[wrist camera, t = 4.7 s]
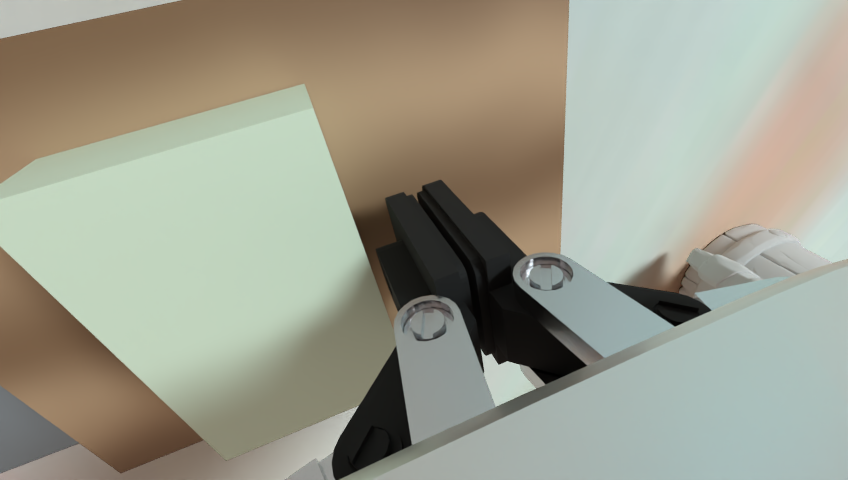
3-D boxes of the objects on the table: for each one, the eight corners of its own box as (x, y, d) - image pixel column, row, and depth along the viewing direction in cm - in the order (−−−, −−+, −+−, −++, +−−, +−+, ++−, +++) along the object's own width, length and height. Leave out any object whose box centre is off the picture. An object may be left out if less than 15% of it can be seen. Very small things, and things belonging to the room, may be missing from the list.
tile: (35, 158, 8) (-37, 209, 6) (304, 83, 9) (312, 107, 7) (232, 392, 14) (225, 460, 12) (393, 329, 15) (412, 382, 13)
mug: (707, 318, 30) (914, 470, 20) (620, 287, 24) (852, 480, 15) (783, 237, 28) (1060, 366, 18) (706, 180, 22) (1055, 328, 12)
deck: (-175, 79, 9) (-370, 117, 6) (502, -65, 12) (572, -83, 9) (145, 393, 17) (120, 473, 14) (517, 254, 20) (558, 297, 17)
